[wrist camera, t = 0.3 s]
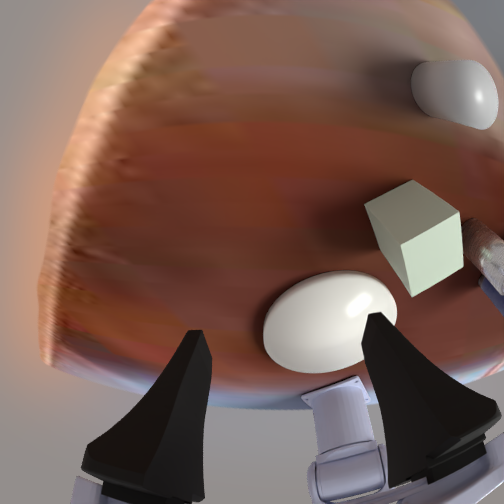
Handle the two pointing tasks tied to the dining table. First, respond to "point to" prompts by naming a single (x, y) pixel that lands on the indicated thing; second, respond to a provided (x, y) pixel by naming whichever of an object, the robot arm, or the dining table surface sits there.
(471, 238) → the salt shaker
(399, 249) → the sage block
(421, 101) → the white rounded domed part
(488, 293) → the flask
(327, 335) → the plate
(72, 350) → the dining table surface
